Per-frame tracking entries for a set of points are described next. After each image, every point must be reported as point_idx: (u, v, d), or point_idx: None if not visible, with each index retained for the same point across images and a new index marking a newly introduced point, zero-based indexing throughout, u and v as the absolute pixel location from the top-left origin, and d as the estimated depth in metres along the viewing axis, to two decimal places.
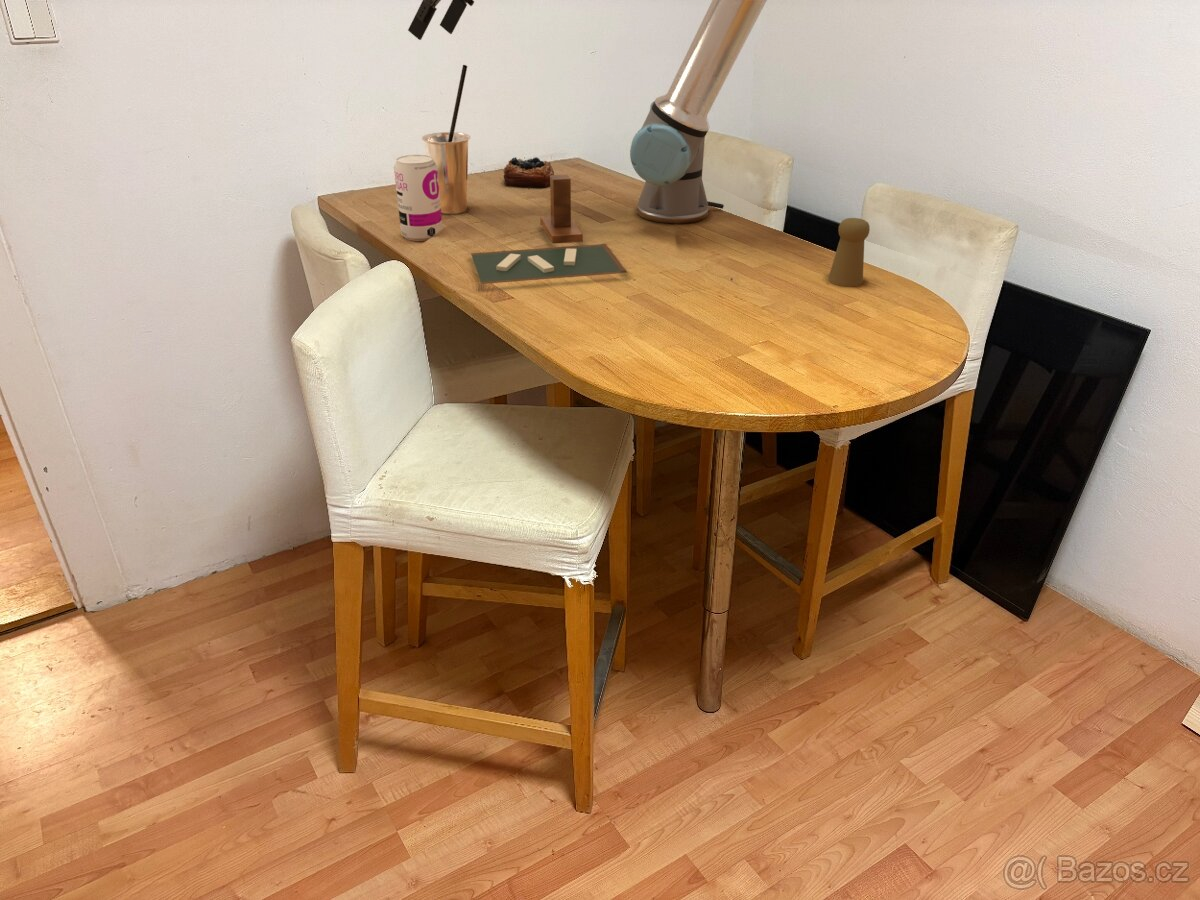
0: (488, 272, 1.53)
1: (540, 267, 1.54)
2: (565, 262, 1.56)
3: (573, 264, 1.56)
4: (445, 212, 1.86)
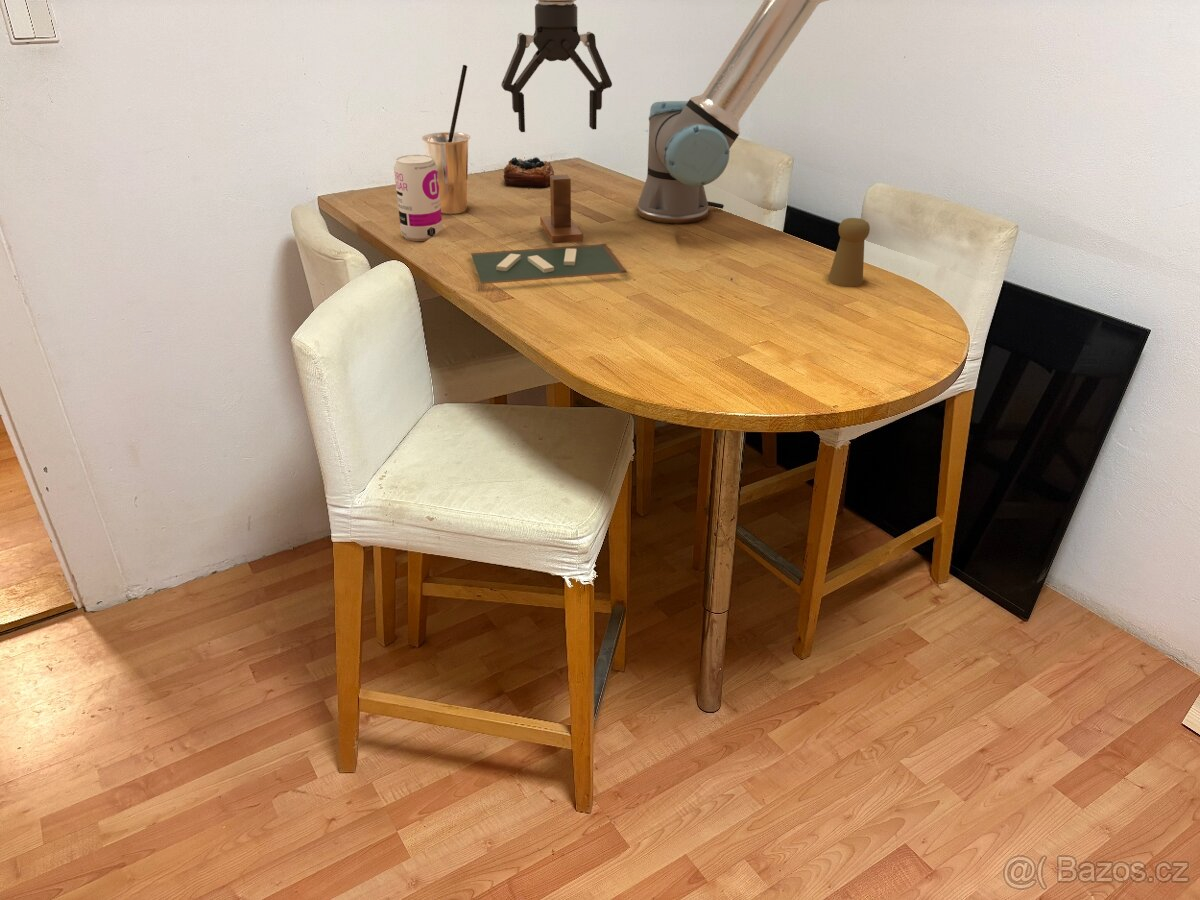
0: (488, 272, 1.53)
1: (540, 267, 1.54)
2: (565, 262, 1.56)
3: (573, 264, 1.56)
4: (445, 212, 1.86)
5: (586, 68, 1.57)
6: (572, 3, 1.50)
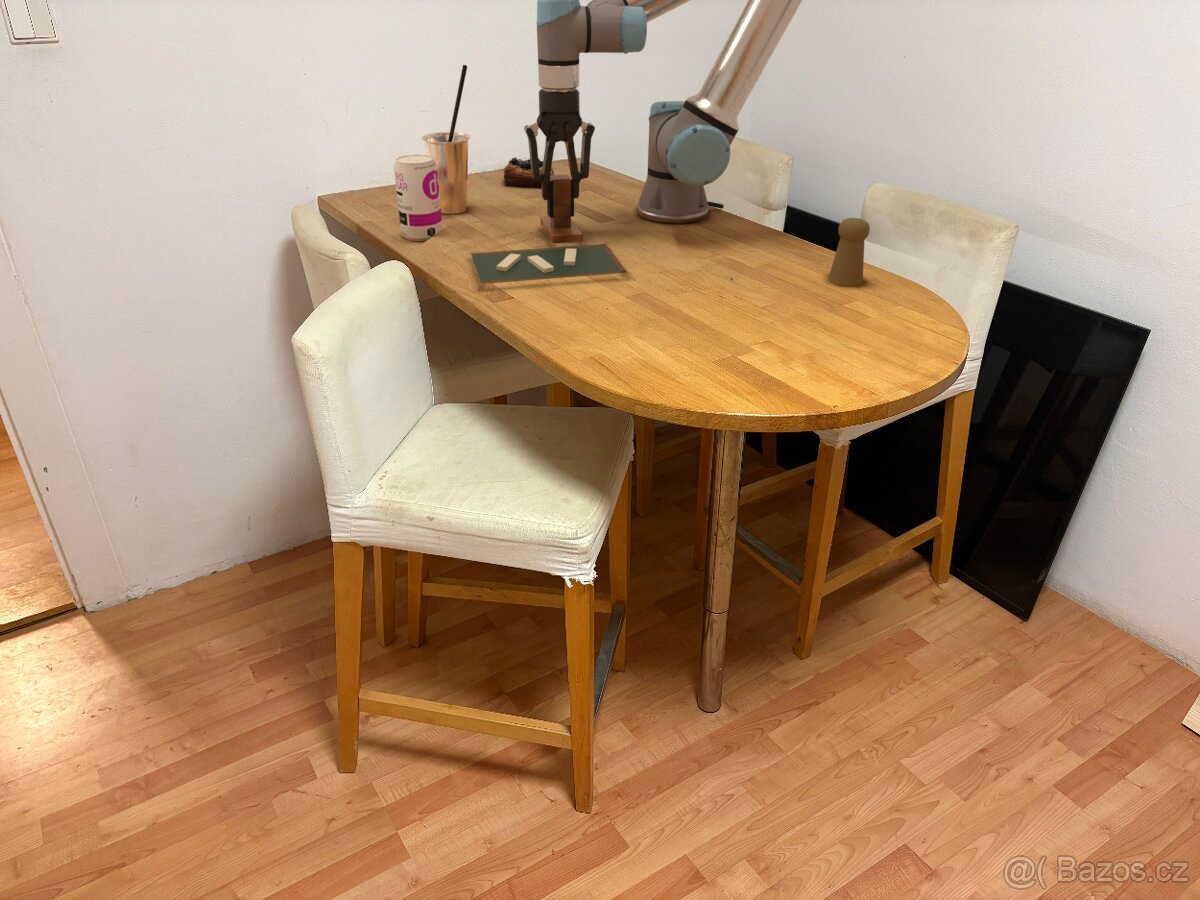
0: (488, 272, 1.53)
1: (540, 267, 1.54)
2: (565, 262, 1.56)
3: (573, 264, 1.56)
4: (445, 212, 1.86)
5: (574, 156, 1.64)
6: (574, 89, 1.57)
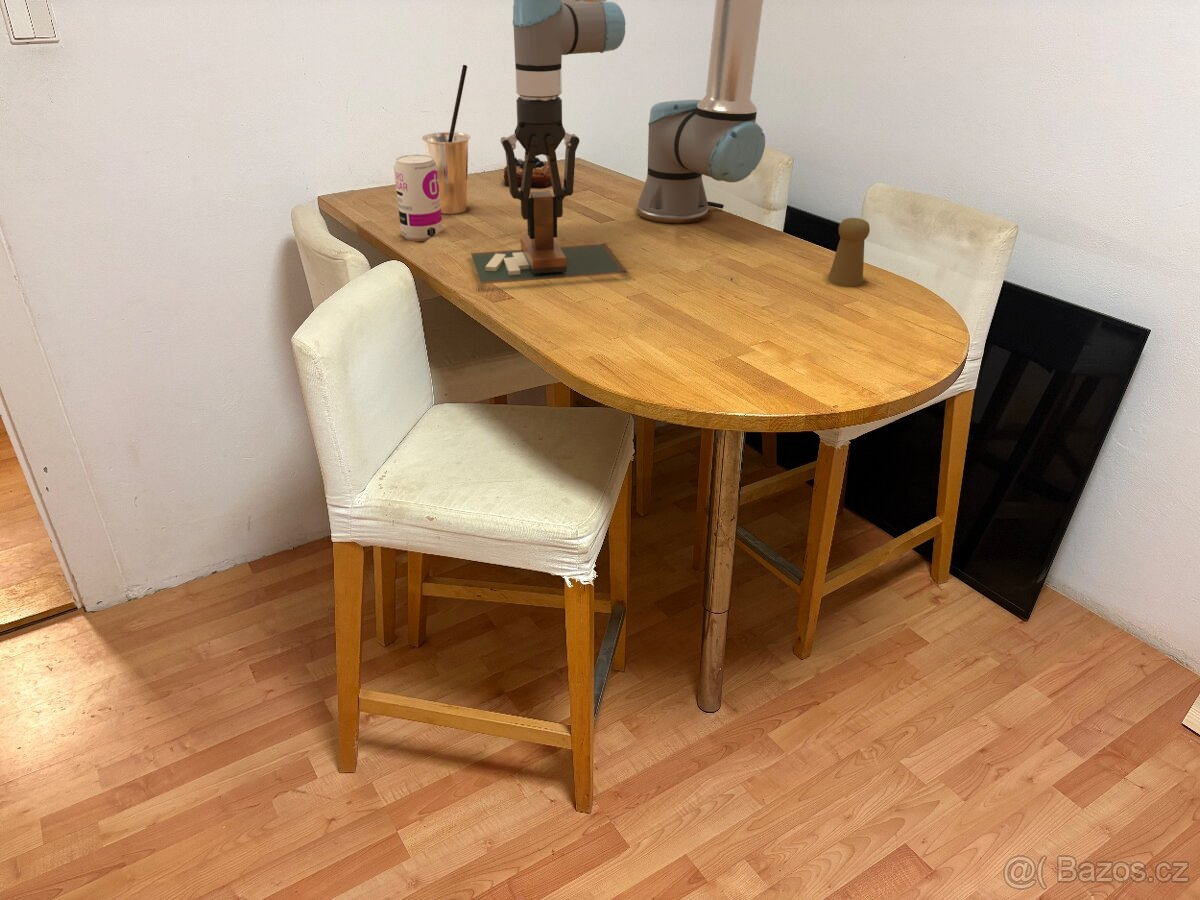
0: (488, 272, 1.53)
1: (507, 269, 1.52)
2: (519, 266, 1.54)
3: (528, 267, 1.54)
4: (445, 212, 1.86)
5: (557, 171, 1.48)
6: (556, 97, 1.41)
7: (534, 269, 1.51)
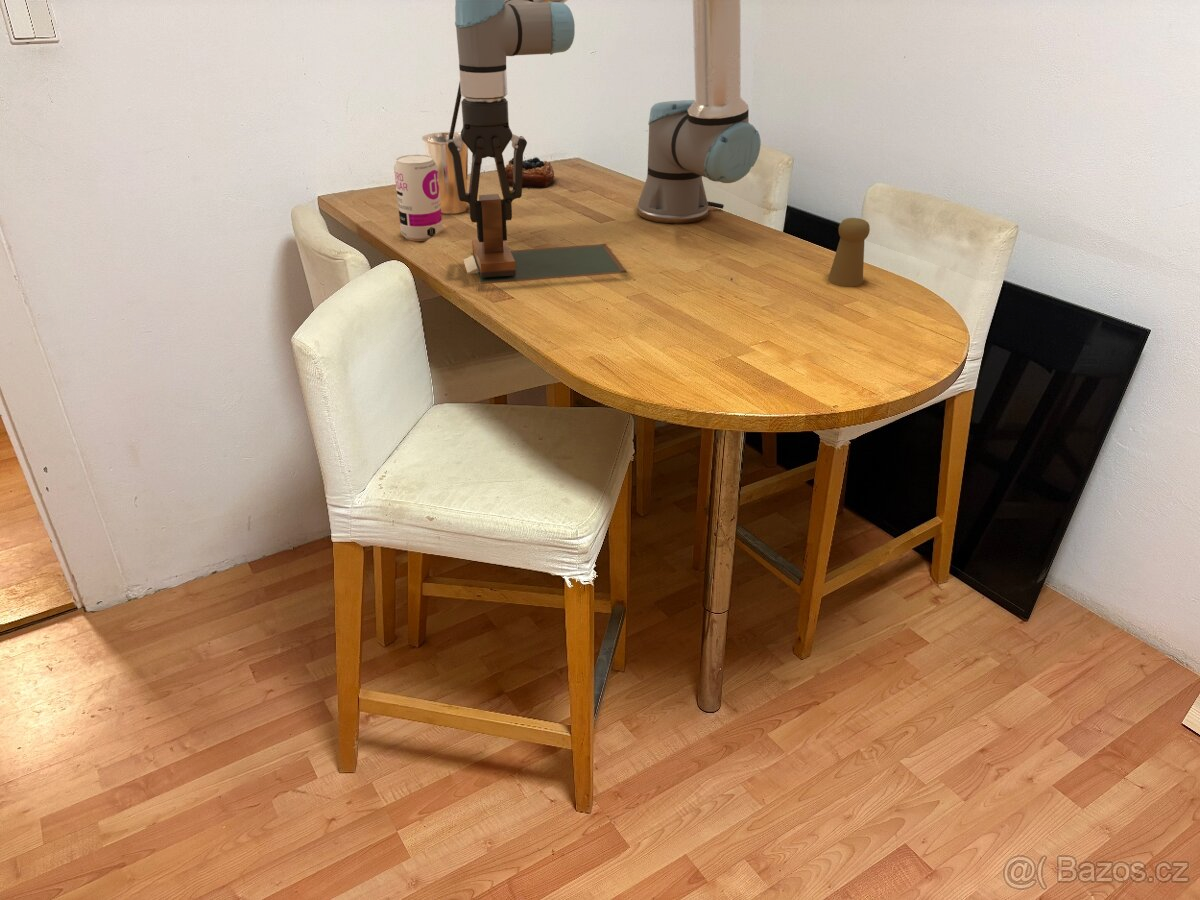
0: None
1: None
2: (469, 273, 1.52)
3: (477, 271, 1.52)
4: (445, 212, 1.86)
5: (504, 174, 1.46)
6: (501, 99, 1.39)
7: (482, 273, 1.49)
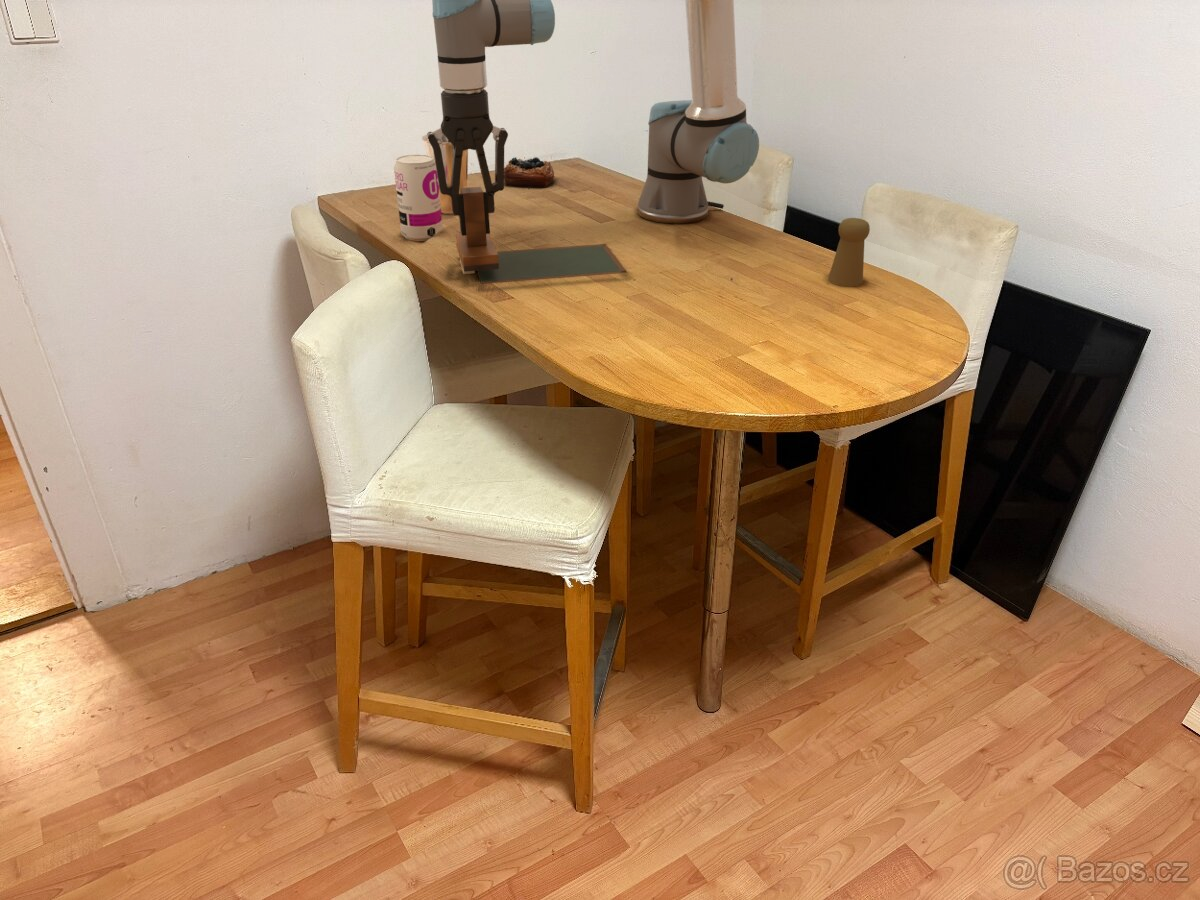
0: (488, 272, 1.53)
1: None
2: (465, 272, 1.52)
3: None
4: (445, 212, 1.86)
5: (486, 166, 1.45)
6: (481, 90, 1.38)
7: (465, 266, 1.48)
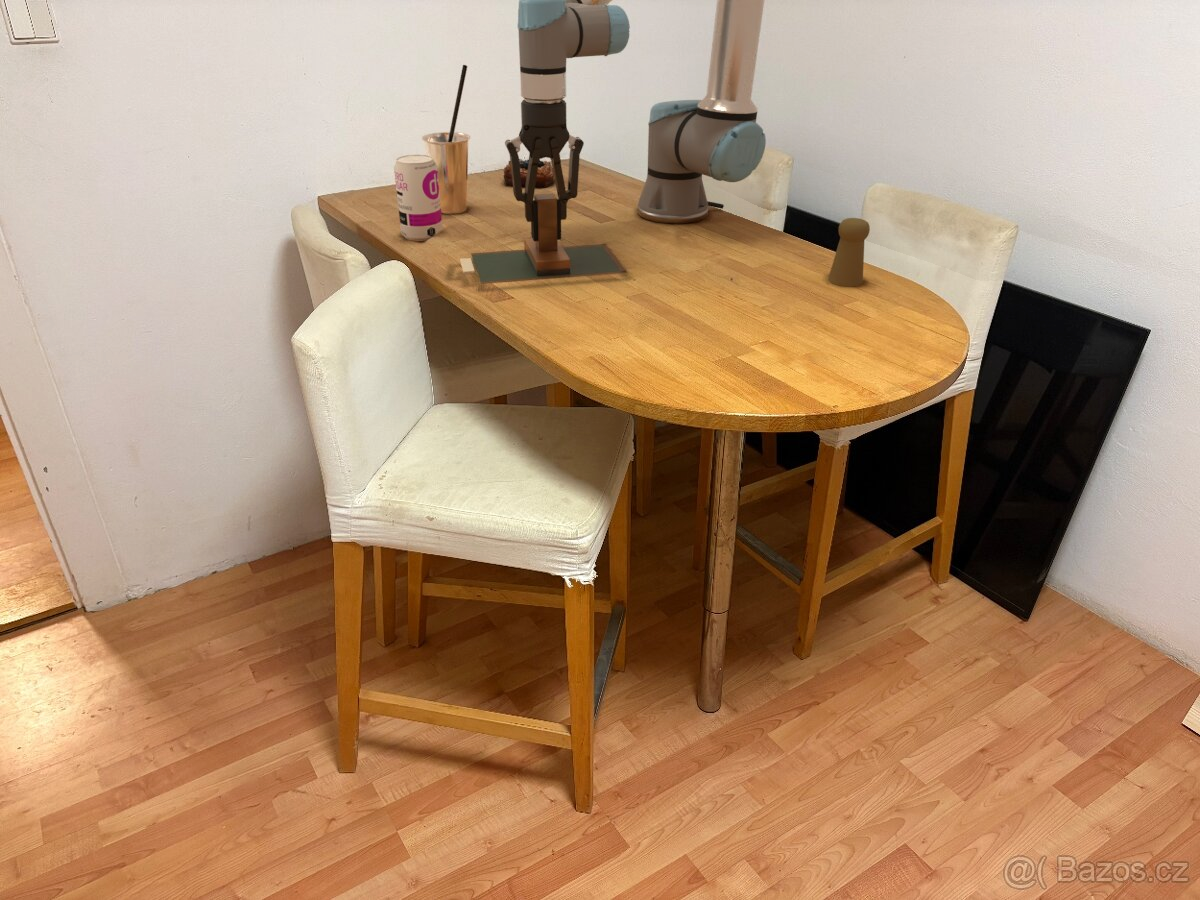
0: (488, 272, 1.53)
1: None
2: (465, 272, 1.52)
3: None
4: (445, 212, 1.86)
5: (561, 174, 1.48)
6: (561, 100, 1.42)
7: (538, 271, 1.51)
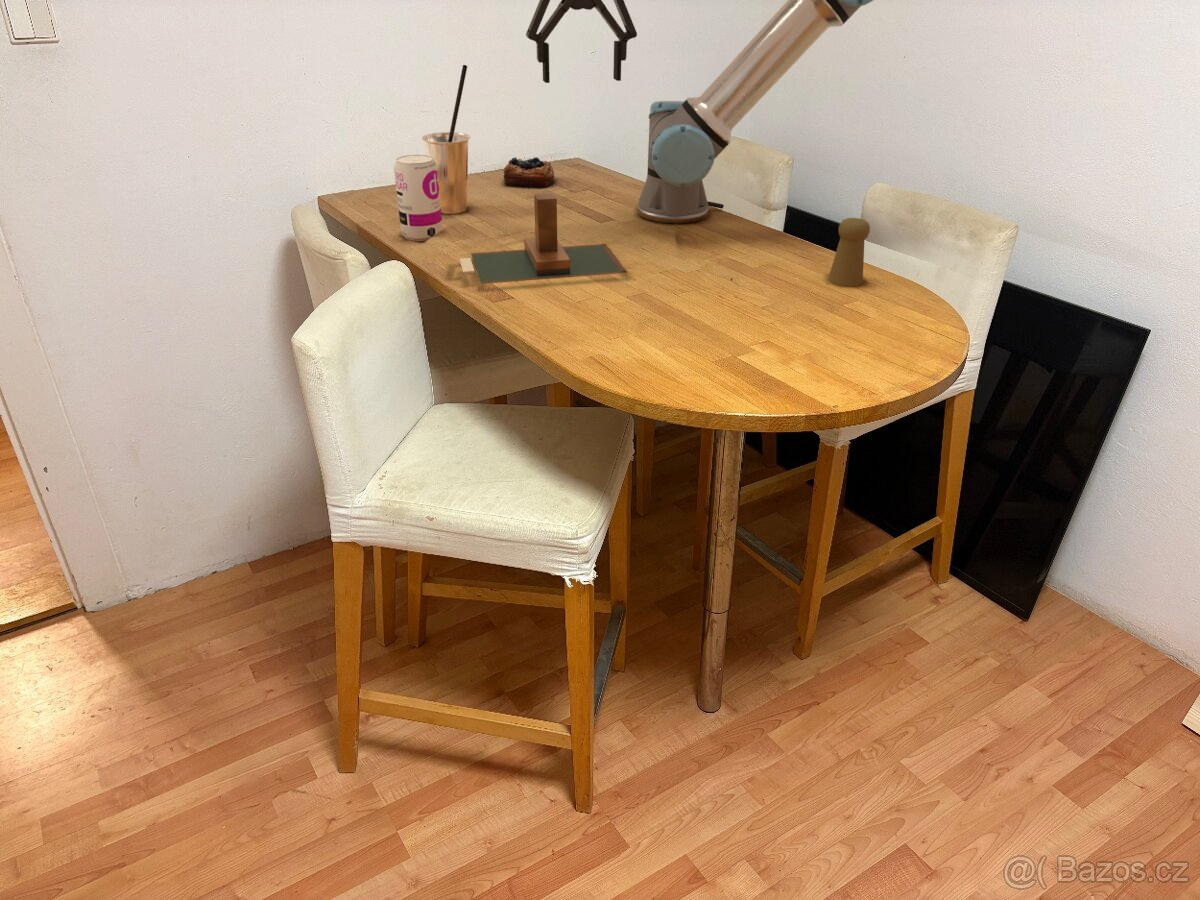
0: (488, 272, 1.53)
1: None
2: (464, 272, 1.52)
3: None
4: (445, 212, 1.86)
5: (611, 17, 1.56)
6: None
7: (538, 271, 1.51)
